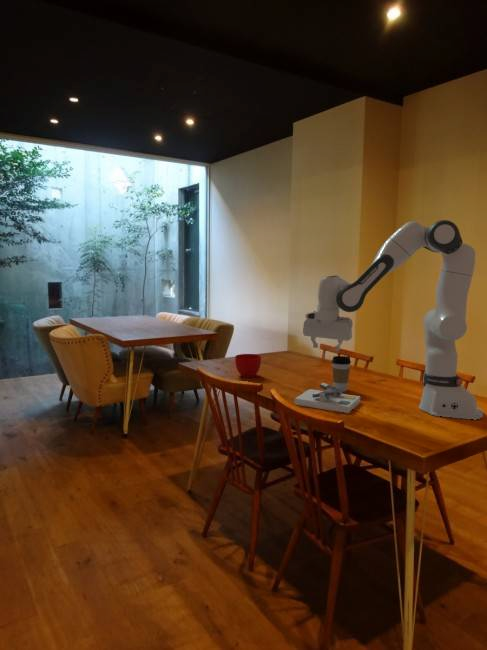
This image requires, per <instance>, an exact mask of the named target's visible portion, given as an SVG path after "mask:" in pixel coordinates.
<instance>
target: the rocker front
mask: <svg viewBox="0 0 487 650" xmlns="http://www.w3.org/2000/svg"><path fill="white" fill-rule="evenodd" d="M323 391H324V390H323ZM320 393H322V394H325V396H331V395H335V394H336V393H337V390H332V391H324V392H315V393H314V394H313V395H312V396H313V398H315V397H320Z"/></svg>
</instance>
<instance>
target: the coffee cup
mask: <svg viewBox="0 0 487 650" xmlns="http://www.w3.org/2000/svg"><path fill="white" fill-rule="evenodd" d="M331 363H332V380H333V386H336V388H337V389H340V390H342V391H343V392H347V391H348V386H349V378H350V371H351V367H350V366H351V364H352V361H351V357H349V356H346V355H345V356H343V355H335V356H333V357H332V359H331Z"/></svg>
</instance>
